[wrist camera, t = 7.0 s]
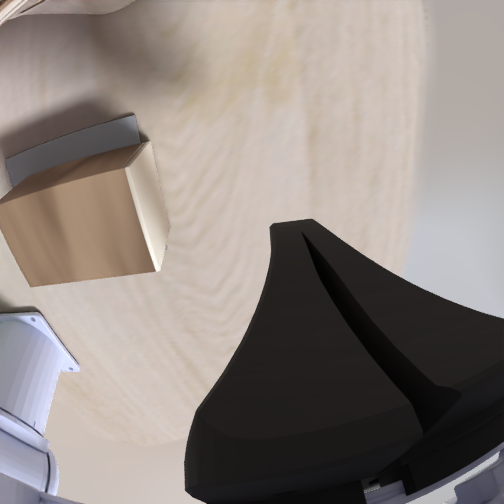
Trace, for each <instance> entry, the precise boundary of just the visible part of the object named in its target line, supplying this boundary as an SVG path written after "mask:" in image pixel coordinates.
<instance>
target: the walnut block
mask: <svg viewBox="0 0 504 504" xmlns="http://www.w3.org/2000/svg"><path fill="white" fill-rule="evenodd" d="M0 229H1V231H2V233H3V236H4V238H5V240H6V242H7V244H8V246H9V248H10V250H11V252H12V254H13V256H14V258H15V260H16V262H17V264H18V266H19V267H20V269H21V271H22V273H23V275H24V277H25V278H26V280H27V282H28V284H29V285H30V287H36V286H45V285H53V284H61V283H69V282H77V281H85V280H93V279H101V278H109V277H117V276H125V275H133V274H140V273H148V272H156V271H160V270H161V265H162V261H163V256H164V252H165V247H166V243H167V239H168V234H169V230H170V223H169V219H168V215H167V211H166V207H165V203H164V199H163V195H162V190H161V186H160V182H159V178H158V173H157V169H156V164H155V160H154V155H153V150H152V146H151V141H148V142H144V143H139V144H135V145H130V146H126V147H122V148H118V149H114V150H110V151H106V152H102V153H99V154H95V155H91V156H88V157H84V158H81V159H78V160H74V161H71V162H68V163H65V164H61V165H58V166H55V167H52V168H49V169H46V170H43V171H40V172H38V173H35V174H32V175H29V176H28V177H26V178H25V179H24V180H23V181H21V182H20V183H19V184H18V185H17V186H15V187H14V188H13V189H12V190H11V191H10V192H8V193H7V194H6V195H5V196H4V197H3V198H1V199H0Z"/></svg>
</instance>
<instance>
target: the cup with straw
mask: <svg viewBox="0 0 504 504" xmlns="http://www.w3.org/2000/svg"><path fill="white" fill-rule="evenodd" d="M134 1H135V0H0V26H1V25H2V24H3V23H4V22H6V21H7V20H9V19H14V18H16V17H19V16H21V15H30V14H93V15H102V14H108V13H112V12H115V11H118V10H120V9H122V8H124V7H126V6H128V5H129V4H131V3H132V2H134Z"/></svg>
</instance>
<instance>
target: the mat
mask: <svg viewBox="0 0 504 504" xmlns="http://www.w3.org/2000/svg"><path fill="white" fill-rule="evenodd" d="M139 143H141V141H140V137H139V132H138V127H137V122H136V117H135V115H132V116H128V117H124V118H121V119H117V120H113V121H109V122H106V123H102V124H99V125H96V126H92V127H89V128H86V129H83V130H80V131H77V132H74V133H71V134H68V135H65V136H62V137H59V138H57V139H54V140H51V141H48V142H46V143H43V144H41V145H38V146H36V147H33V148H31V149H28V150H26V151H23V152H21V153H19V154H17V155H14V156H12V157H10V158H8V159H6V160H5V164H6V167H7V170H8V173H9V176H10V179H11V182H12V185H13V188H14V187H15V186H17V185H18V184H19V183H20V182H21V181H23V180H24V179H25V178H26V177H28V176H29V175H32V174H35V173H38V172H40V171H43V170H46V169H49V168H52V167H55V166H58V165H61V164H65V163H68V162H71V161H74V160H78V159H81V158H84V157H88V156H91V155H95V154H99V153H102V152H106V151H110V150H114V149H118V148H122V147H126V146H130V145H135V144H139ZM165 250H167V245H166V247H165Z"/></svg>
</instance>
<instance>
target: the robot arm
mask: <svg viewBox="0 0 504 504" xmlns="http://www.w3.org/2000/svg"><path fill="white" fill-rule="evenodd" d="M270 241H271V258H270V264H269V269H268V273H267V277H266V281H265V285H264V288H263V291H262V294H261V297H260V300H259V303H258V305H257V308H256V310H255V313H254V315H253V317H252V320H251V322H250V324H249V326H248V329H247V331H246V333H245V335H244V337H243V339H242V341H241V343H240V344H239V346H238V348H237V350H236V351H235V353H234V355H233V357H232V358H231V360H230V362H229V363H228V365H227V367H226V369H225V370H224V372H223V373H222V375H221V376H220V378H219V379H218V381H217V382H216V383H215V385H214V386H213V388H212V389H211V390H210V392H209V393H208V395H207V396H206V397H205V399H204V400H203V402H202V403H201V404H200V406H199V407H198V408H197V410H196V413H195V416H194V419H193V422H192V426H191V429H190V432H189V437H188V441H187V446H186V453H185V461H184V468H185V469H184V471H185V491H186V492H187V493H188V494H190V495H191V496H192V497H193V498H196V499H198V500H201V501H203V502H205V503H206V504H405V503H408V502H410V501H412V500H415V499H417V498H419V497H421V496H423V495H426V494H428V493H430V492H432V491H434V490H436V489H438V488H440V487H442V486H444V485H446V484H447V483H449V482H451V481H453V480H455V479H456V478H458V477H460V476H462V475H463V474H465V473H467V472H468V471H470V470H472V469H473V468H475V467H477V466H478V465H480V464H481V463H483V462H484V461H486V460H487V459H489V458H490V457H492V456H493V455H494V454H496V453H497V452H499V451H500V453H499V458H498V460H497V461H495V462H494V463H492V464H490V465H489V466H487V467H485V468H484V469H482V470H480V471H478V472H477V473H475V474H473V475H472V476H470V477H468V478H467V479H465V480H464V481H462V482H461V483H460V484H458V485H456V486H455V488H454V490H455V493H456V497H455V498H453V499H451V500H449V501H447V502H445V503H443V504H504V319H503V318H499V317H496V316H492V315H488V314H485V313H482V312H479V311H476V310H473V309H471V308H467V307H465V306H462V305H459V304H457V303H454V302H452V301H449V300H447V299H444V298H442V297H440V296H438V295H435V294H433V293H431V292H429V291H426V290H424V289H422V288H420V287H418V286H416V285H414V284H412V283H410V282H408V281H406V280H405V279H403V278H401V277H399V276H397V275H395V274H394V273H392V272H390V271H388V270H387V269H385V268H383V267H382V266H380V265H378V264H377V263H375V262H374V261H372V260H371V259H369V258H367V257H366V256H364V255H363V254H361V253H360V252H358V251H357V250H355V249H354V248H353V247H351V246H350V245H348V244H347V243H345V242H344V241H343V240H341V239H340V238H338V237H337V236H336V235H334V234H333V233H332V232H330V231H329V230H328V229H326V228H325V227H323V226H322V225H321V224H319V223H318V222H316V221H315V220H313V219H305V220H297V221H289V222H281V223H273V224H272V225H271V226H270ZM60 371H71V372H79V371H80V366H79V365H78V363H77V362H76V361H75V360H74V358H73V357H72V356H71V355H70V353H69V352H68V351H67V350H66V348H65V347H64V346H63V344H62V343H61V342H60V340H59V339H58V338H57V336H56V335H55V333H54V332H53V331H52V329H51V328H50V326H49V325H48V324H47V322H46V321H45V319H44V318H43V316H42V315H41V314H40V313H38V312H27V313H8V314H0V504H83V503H79V502H75V501H71V500H68V499H64V498H61V497H58V496H56V494H57V490H58V484H59V470H58V464H57V462H56V460H55V457H54V454H53V453H52V451H51V450H50V449H48V447H49V441H48V440H47V439H45V438H43V437H44V432H45V427H46V422H47V418H48V414H49V410H50V406H51V402H52V399H53V395H54V391H55V387H56V384H57V380H58V377H59V374H60ZM377 488H378V489H377ZM374 489H375V490H374ZM371 490H372V491H371ZM368 491H369V492H368ZM365 492H366V493H365Z"/></svg>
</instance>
